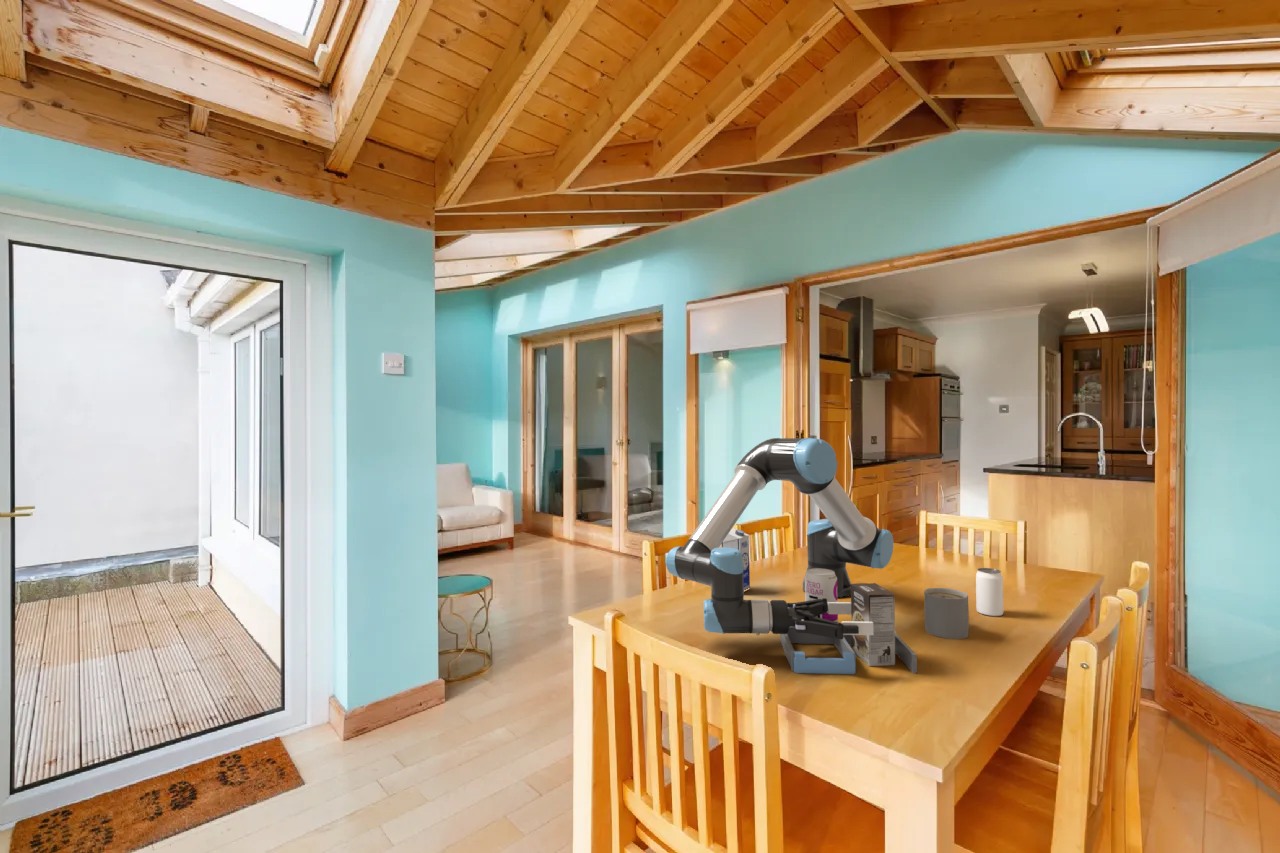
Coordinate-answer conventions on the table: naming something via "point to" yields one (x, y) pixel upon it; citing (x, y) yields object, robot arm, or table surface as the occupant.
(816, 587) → the supplement can
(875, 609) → the coffee box
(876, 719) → the table surface
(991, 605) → the can
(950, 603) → the coffee mug
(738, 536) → the milk carton
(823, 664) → the divider rack
